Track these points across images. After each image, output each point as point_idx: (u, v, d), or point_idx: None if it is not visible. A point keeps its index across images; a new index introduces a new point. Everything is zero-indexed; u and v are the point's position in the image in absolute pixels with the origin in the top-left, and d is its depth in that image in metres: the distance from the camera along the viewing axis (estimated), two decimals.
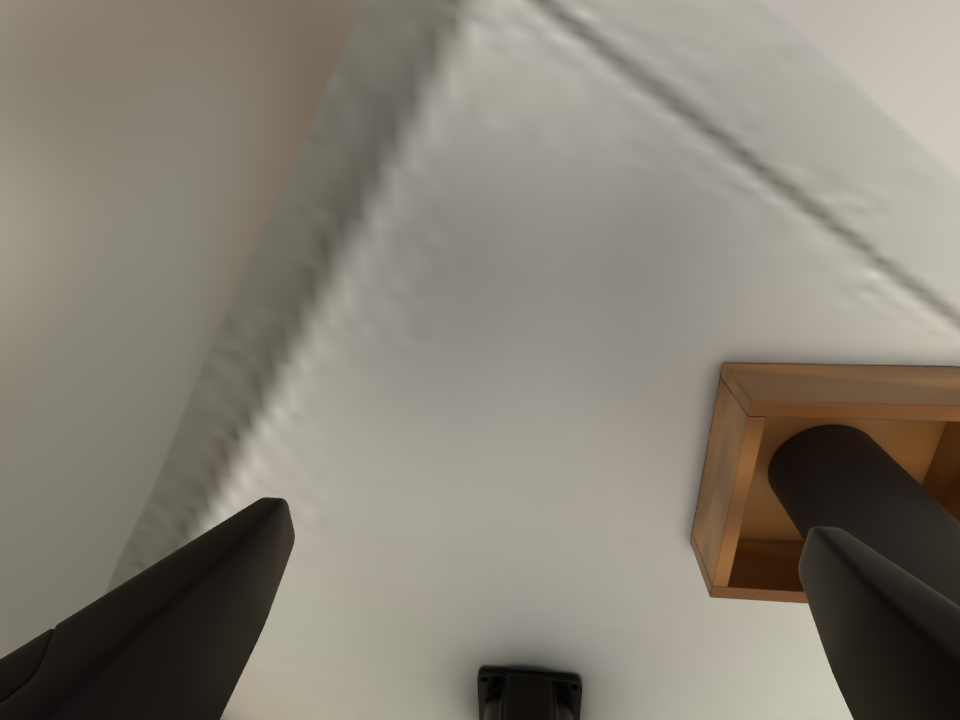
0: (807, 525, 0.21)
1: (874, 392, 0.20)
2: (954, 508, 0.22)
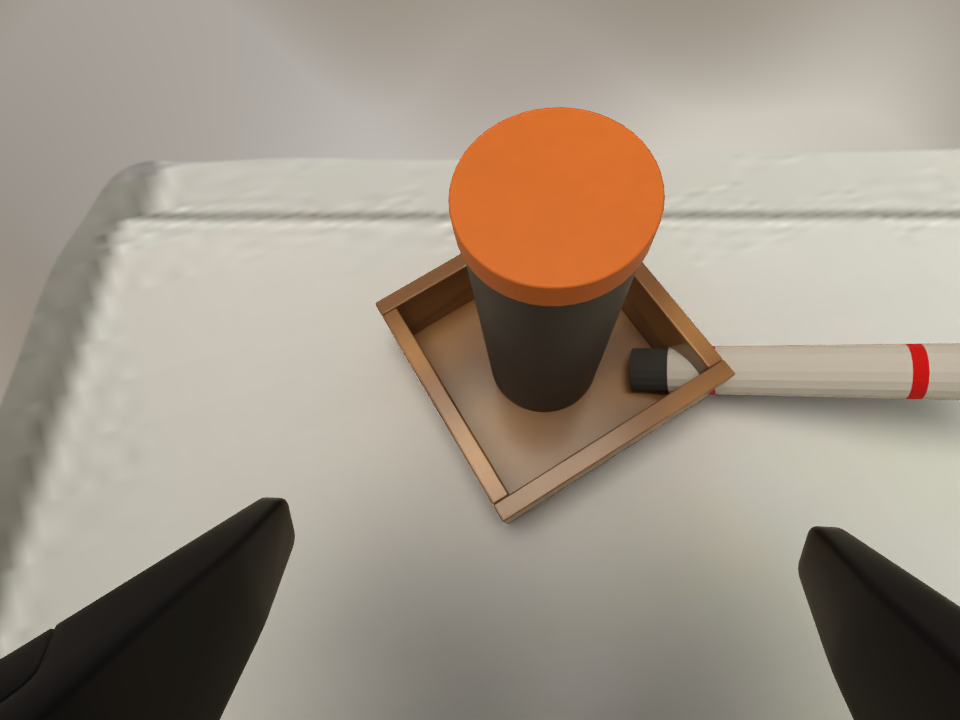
0: (492, 360, 0.20)
1: None
2: (637, 301, 0.22)
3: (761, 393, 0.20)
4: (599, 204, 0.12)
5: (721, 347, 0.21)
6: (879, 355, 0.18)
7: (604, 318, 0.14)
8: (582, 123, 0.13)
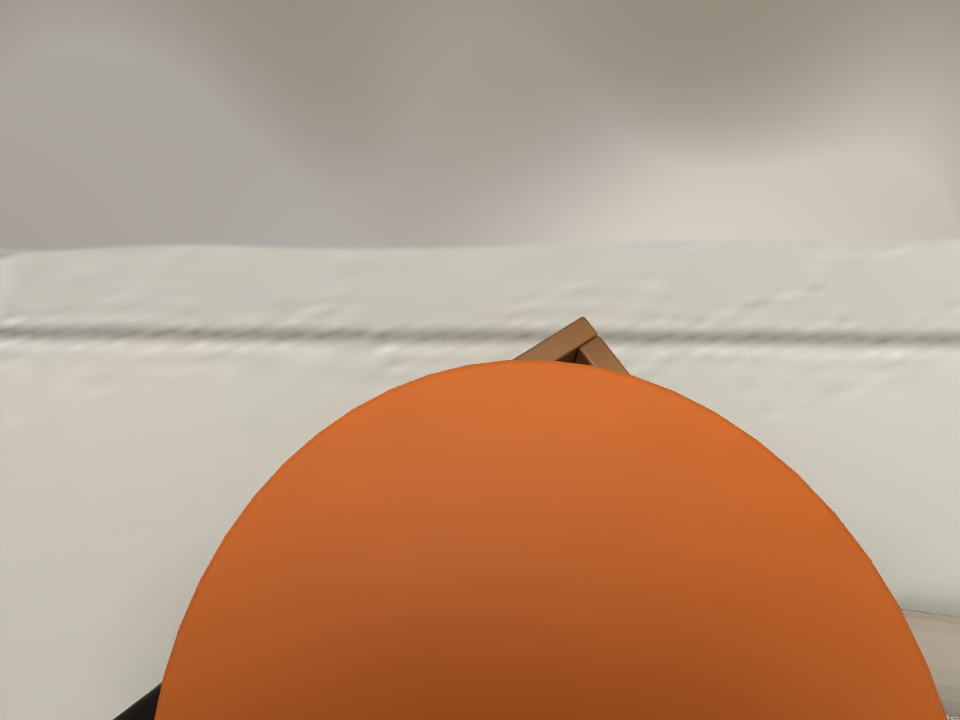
0: None
1: None
2: None
3: None
4: None
5: None
6: None
7: None
8: (619, 427, 0.04)
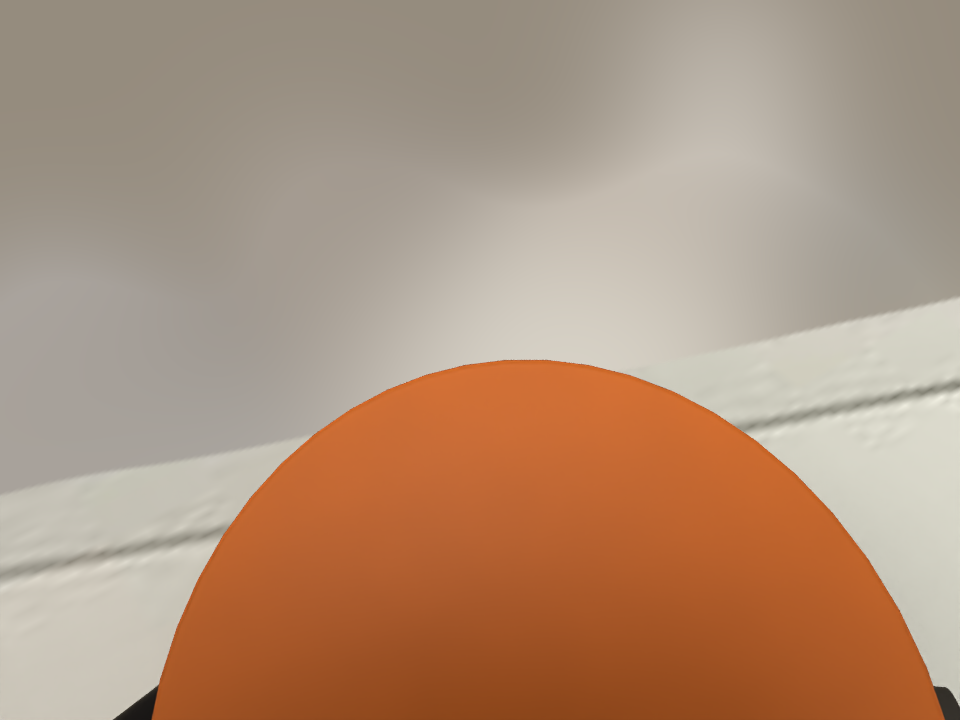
0: None
1: None
2: None
3: None
4: None
5: None
6: None
7: None
8: (617, 428, 0.04)
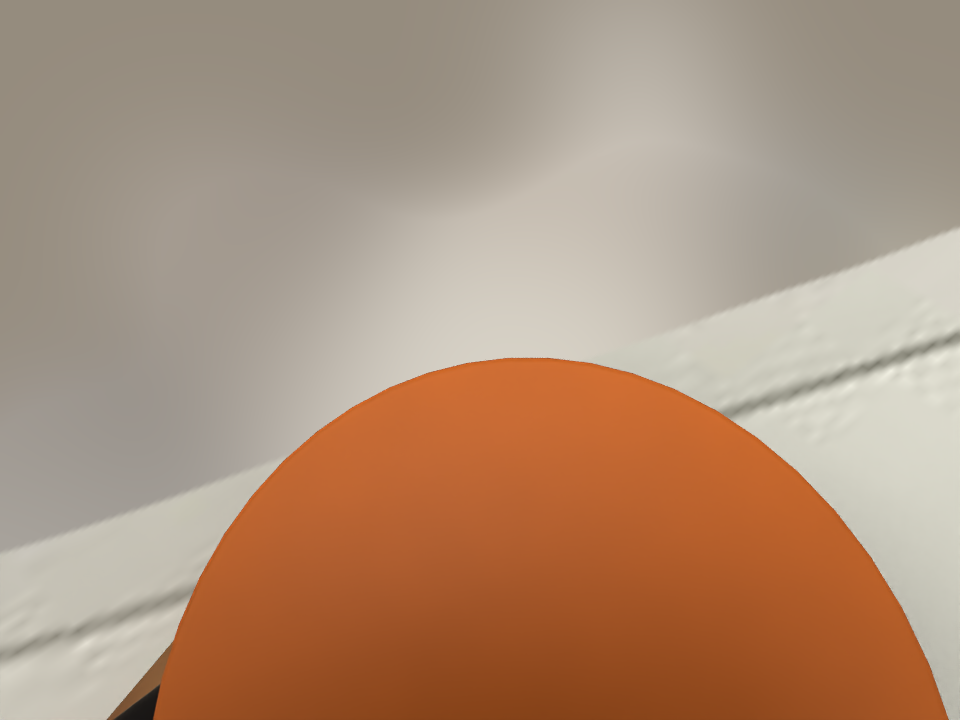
0: None
1: None
2: None
3: None
4: None
5: None
6: None
7: None
8: (619, 425, 0.04)
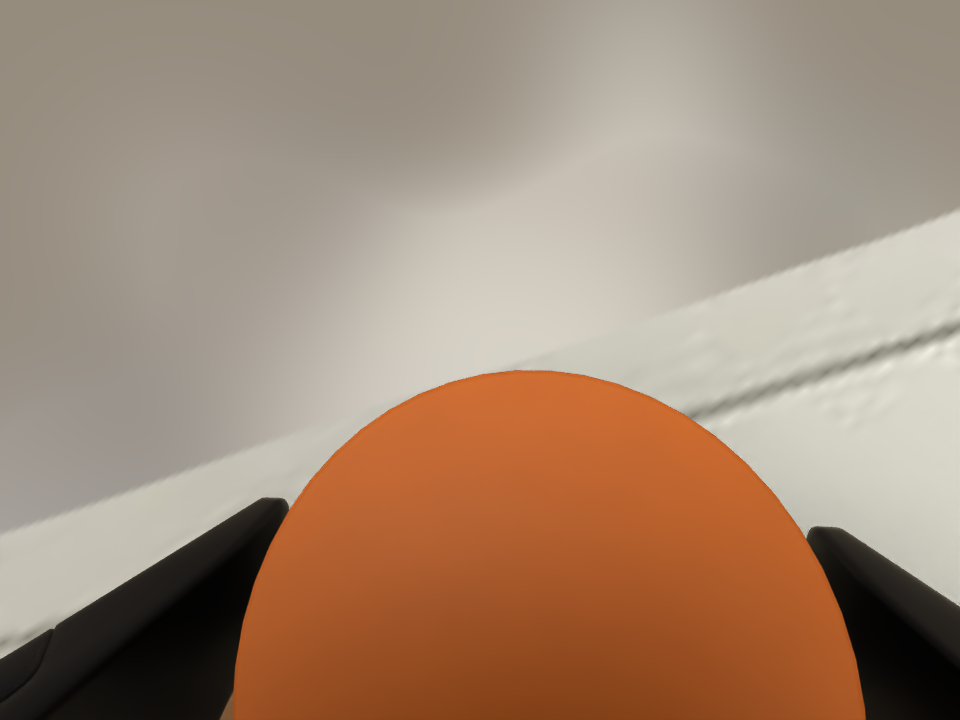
0: None
1: None
2: None
3: None
4: None
5: None
6: None
7: None
8: (605, 426, 0.05)
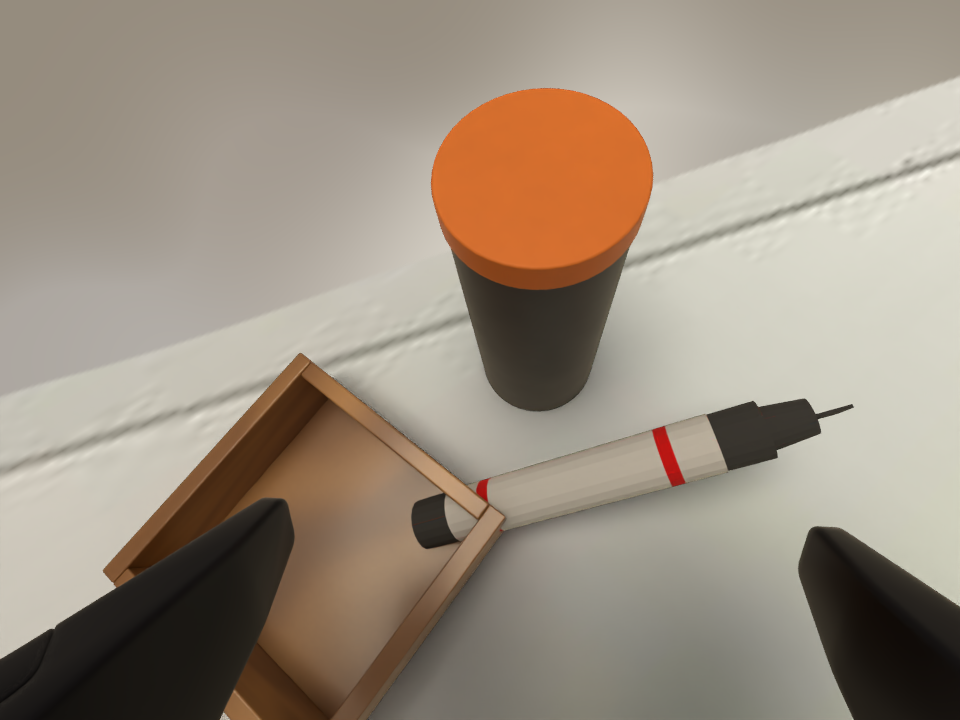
0: (483, 356, 0.19)
1: None
2: None
3: (545, 519, 0.19)
4: (586, 183, 0.11)
5: (493, 481, 0.19)
6: (630, 454, 0.17)
7: (595, 305, 0.14)
8: (567, 103, 0.12)
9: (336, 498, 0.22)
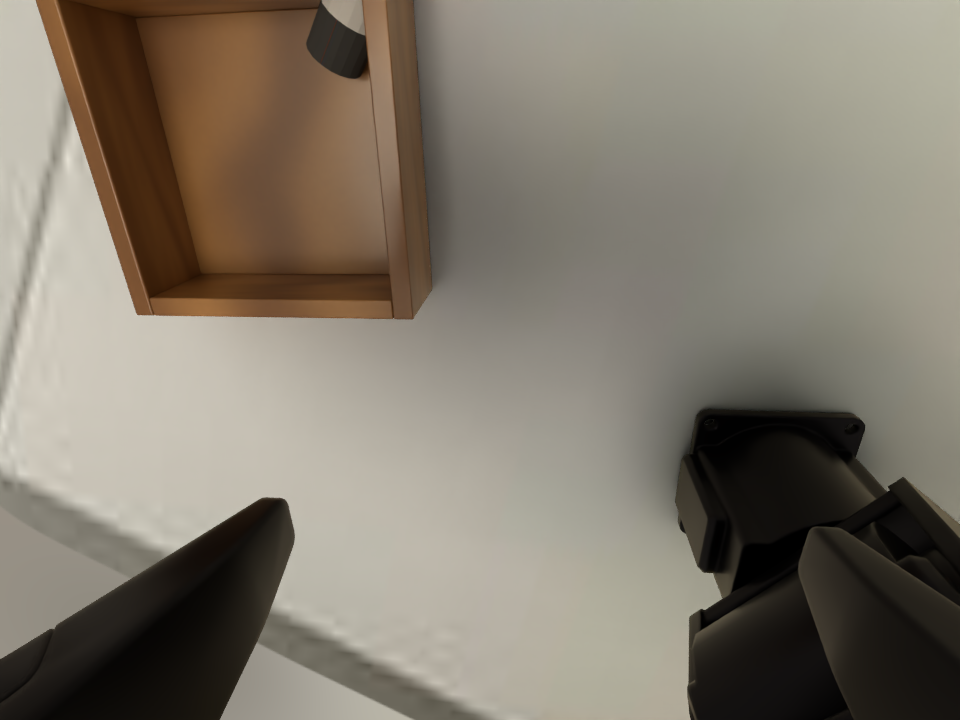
0: None
1: None
2: None
3: None
4: None
5: None
6: None
7: None
8: None
9: (246, 113, 0.19)
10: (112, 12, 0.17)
